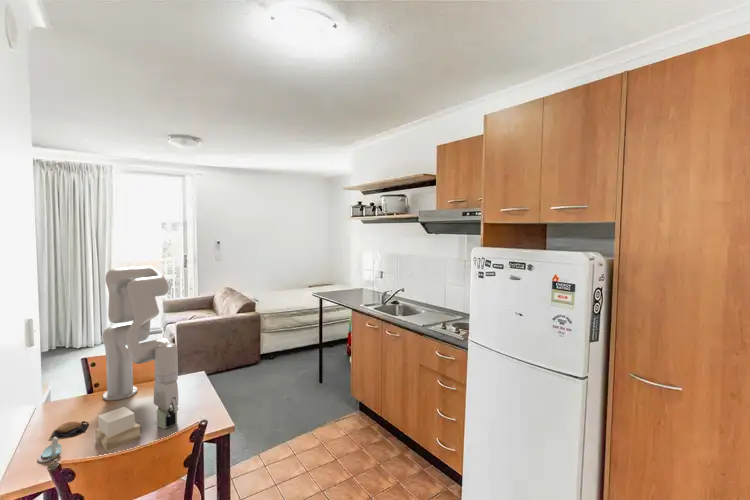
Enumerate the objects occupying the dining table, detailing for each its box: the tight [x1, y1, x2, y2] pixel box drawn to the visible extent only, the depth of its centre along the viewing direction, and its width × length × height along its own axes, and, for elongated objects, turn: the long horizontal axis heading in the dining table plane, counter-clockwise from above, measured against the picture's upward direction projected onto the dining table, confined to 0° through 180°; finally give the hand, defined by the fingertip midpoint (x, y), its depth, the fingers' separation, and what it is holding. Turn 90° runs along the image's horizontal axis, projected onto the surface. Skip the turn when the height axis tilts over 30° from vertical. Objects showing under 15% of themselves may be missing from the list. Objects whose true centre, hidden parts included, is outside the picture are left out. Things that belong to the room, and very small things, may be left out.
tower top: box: [97, 406, 136, 437], centre depth 128 cm, size 8×8×5 cm
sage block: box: [156, 405, 178, 430], centre depth 139 cm, size 5×5×6 cm
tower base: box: [95, 421, 141, 453], centre depth 128 cm, size 10×10×5 cm
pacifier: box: [37, 437, 62, 463], centre depth 119 cm, size 7×6×6 cm
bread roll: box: [48, 420, 90, 442], centre depth 133 cm, size 11×8×4 cm
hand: (167, 422), depth 139 cm, fingers closed on sage block, 5 cm apart
